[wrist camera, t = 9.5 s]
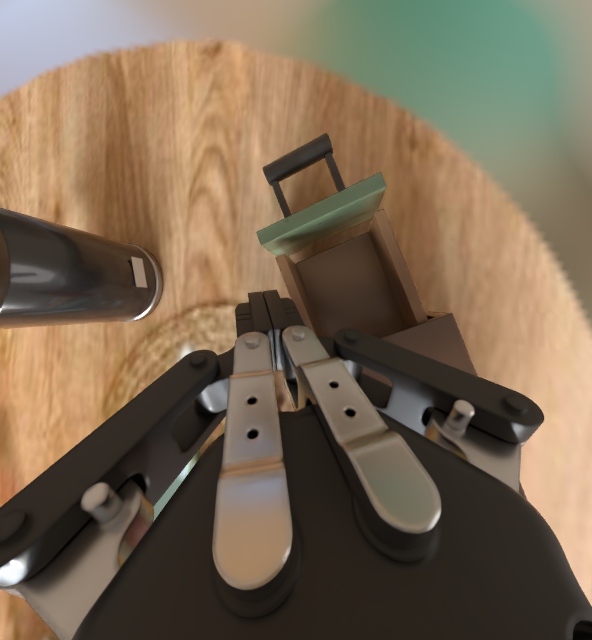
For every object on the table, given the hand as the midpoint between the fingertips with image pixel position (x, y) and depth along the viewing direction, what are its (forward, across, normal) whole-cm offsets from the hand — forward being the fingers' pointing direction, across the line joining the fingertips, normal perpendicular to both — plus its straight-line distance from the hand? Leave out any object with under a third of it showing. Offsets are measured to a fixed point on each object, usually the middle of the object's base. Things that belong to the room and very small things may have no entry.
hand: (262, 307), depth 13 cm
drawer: (+12, -9, +2) cm, 15 cm away
